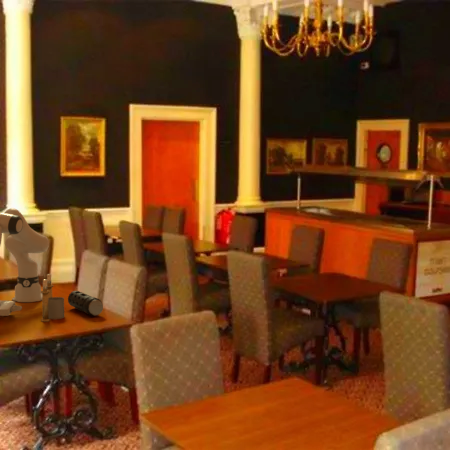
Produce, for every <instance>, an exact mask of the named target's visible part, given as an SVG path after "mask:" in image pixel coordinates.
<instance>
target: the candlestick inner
mask: <svg viewBox="0 0 450 450" xmlns="http://www.w3.org/2000/svg"><path fill="white" fill-rule="evenodd" d="M46 279H47V290H48V291H50V292H49V293H48V298H52V297H53V287H54V284H52V273H47V274H46Z"/></svg>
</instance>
